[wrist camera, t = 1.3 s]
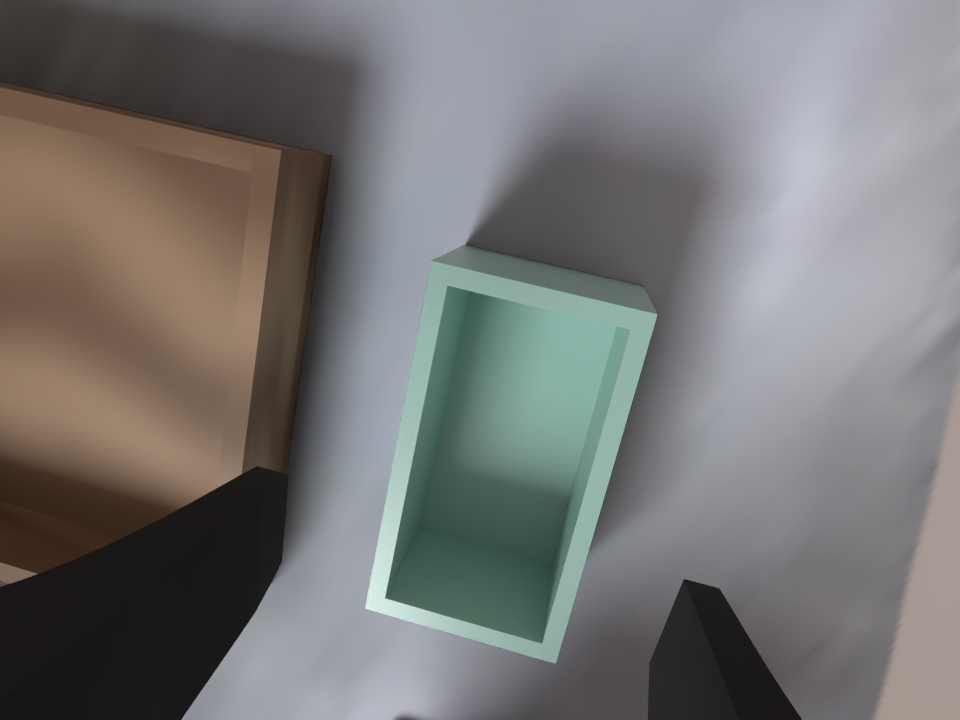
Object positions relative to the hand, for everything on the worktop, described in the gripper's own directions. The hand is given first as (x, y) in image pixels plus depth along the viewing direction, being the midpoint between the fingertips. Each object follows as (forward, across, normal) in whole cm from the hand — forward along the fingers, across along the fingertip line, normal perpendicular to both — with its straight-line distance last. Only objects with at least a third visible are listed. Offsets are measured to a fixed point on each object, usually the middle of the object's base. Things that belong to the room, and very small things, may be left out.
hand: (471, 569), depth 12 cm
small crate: (+10, 0, +2) cm, 10 cm away
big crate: (+10, +14, +3) cm, 17 cm away
